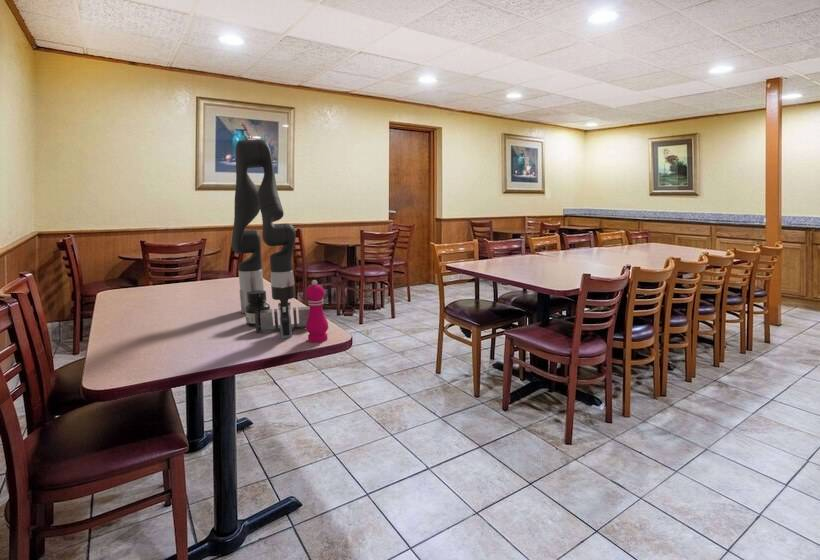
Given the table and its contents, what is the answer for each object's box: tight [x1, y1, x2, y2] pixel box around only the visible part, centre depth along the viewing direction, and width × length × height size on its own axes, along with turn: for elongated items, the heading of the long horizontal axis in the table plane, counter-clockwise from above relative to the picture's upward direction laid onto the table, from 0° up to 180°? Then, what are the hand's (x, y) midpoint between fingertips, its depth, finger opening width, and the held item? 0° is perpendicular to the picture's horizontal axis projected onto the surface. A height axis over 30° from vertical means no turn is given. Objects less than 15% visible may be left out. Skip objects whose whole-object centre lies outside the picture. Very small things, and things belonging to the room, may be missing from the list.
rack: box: [255, 305, 310, 334], centre depth 174 cm, size 20×5×7 cm, turn 104°
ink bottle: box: [244, 290, 271, 327], centre depth 182 cm, size 10×9×12 cm
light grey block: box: [279, 314, 293, 339], centre depth 166 cm, size 4×5×7 cm
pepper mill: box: [305, 279, 329, 343], centre depth 159 cm, size 7×7×20 cm
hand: (286, 332), depth 166 cm, fingers open, 7 cm apart
